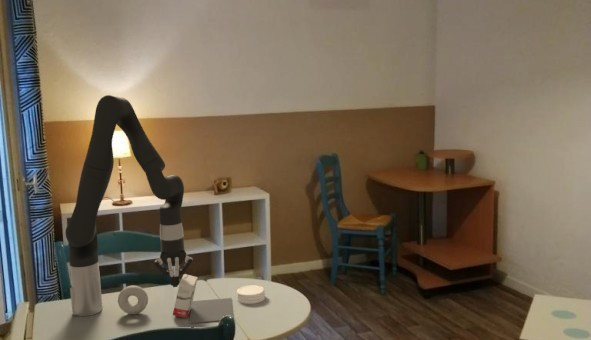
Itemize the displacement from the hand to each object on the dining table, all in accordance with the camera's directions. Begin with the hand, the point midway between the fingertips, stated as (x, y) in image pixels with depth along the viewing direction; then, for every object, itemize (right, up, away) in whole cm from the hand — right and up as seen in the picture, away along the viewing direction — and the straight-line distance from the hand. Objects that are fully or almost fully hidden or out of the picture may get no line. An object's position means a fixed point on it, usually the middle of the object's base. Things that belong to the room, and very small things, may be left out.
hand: (175, 286), depth 188 cm
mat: (+12, -9, +3) cm, 15 cm away
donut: (-15, -10, +3) cm, 18 cm away
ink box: (+2, -9, +2) cm, 10 cm away
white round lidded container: (+24, -8, +13) cm, 29 cm away
